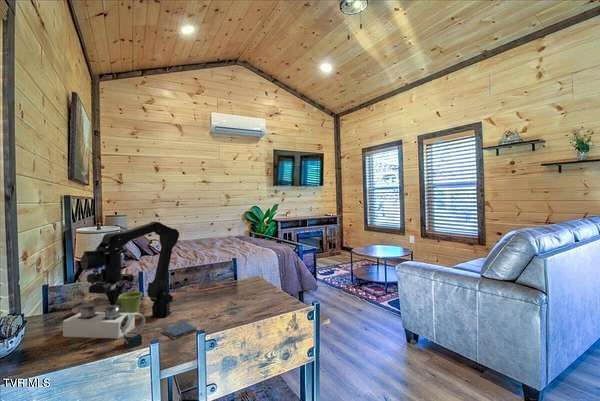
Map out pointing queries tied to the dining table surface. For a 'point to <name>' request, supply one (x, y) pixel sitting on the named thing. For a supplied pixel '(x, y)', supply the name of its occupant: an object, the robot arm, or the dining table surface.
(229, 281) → the dining table surface
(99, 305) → the plant saucer
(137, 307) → the plant pot
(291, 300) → the dining table surface
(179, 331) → the woven mat
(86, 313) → the peg
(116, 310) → the peg
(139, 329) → the watch
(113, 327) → the sleeve block
